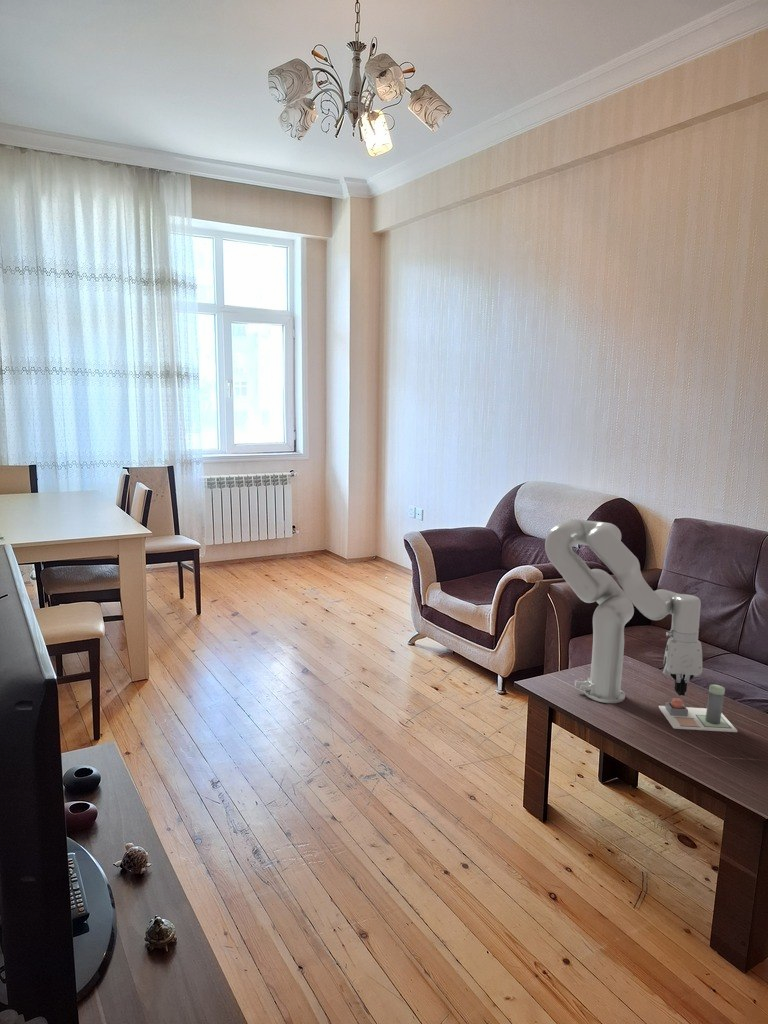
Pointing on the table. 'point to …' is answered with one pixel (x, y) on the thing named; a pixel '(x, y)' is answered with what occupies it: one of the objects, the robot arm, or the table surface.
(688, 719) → the picture board
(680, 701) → the button
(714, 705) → the cylinder
